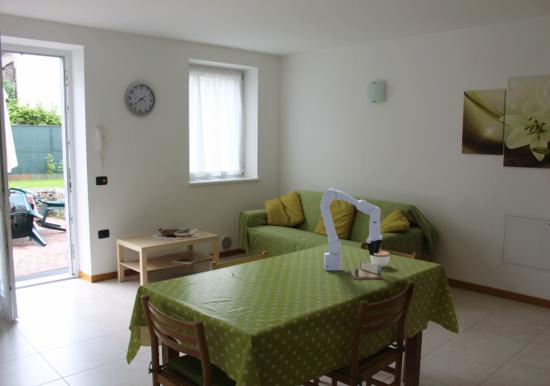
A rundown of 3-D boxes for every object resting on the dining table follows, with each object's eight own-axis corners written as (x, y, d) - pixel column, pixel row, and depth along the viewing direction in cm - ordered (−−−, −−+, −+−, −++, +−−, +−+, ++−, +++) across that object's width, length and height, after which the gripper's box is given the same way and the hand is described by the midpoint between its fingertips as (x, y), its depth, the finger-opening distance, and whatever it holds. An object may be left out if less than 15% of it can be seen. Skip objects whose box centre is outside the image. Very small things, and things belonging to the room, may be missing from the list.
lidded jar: (388, 264, 279) (388, 248, 278) (390, 269, 268) (391, 252, 267) (368, 263, 280) (369, 247, 279) (370, 268, 269) (371, 251, 268)
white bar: (382, 274, 253) (382, 265, 252) (379, 274, 252) (380, 266, 251) (361, 267, 264) (361, 260, 264) (359, 268, 263) (359, 260, 263)
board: (353, 279, 249) (354, 269, 248) (348, 271, 264) (349, 262, 263) (383, 279, 249) (383, 269, 249) (376, 271, 264) (376, 262, 263)
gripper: (375, 232, 253) (374, 257, 254) (387, 228, 264) (387, 252, 266) (363, 230, 257) (362, 255, 259) (375, 226, 268) (375, 251, 270)
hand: (374, 254), depth 262 cm, fingers open, 5 cm apart
